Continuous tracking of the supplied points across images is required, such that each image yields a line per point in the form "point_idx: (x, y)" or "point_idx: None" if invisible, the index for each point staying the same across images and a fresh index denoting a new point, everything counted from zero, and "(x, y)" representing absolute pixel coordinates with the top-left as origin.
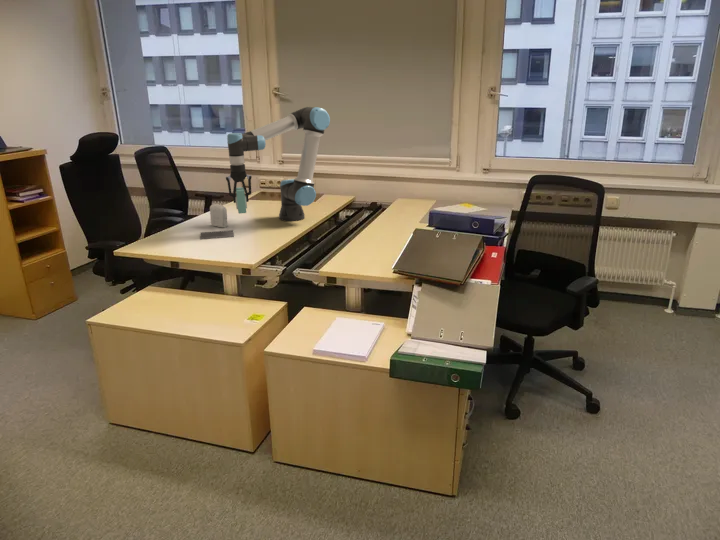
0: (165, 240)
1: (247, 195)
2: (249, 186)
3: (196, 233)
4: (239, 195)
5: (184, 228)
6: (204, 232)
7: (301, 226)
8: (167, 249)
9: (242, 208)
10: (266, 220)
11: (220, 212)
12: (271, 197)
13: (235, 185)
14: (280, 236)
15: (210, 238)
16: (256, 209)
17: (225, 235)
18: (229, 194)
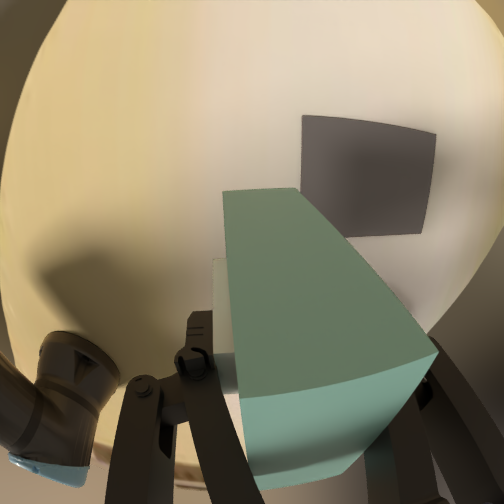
0: (499, 170)
1: (186, 355)
2: (133, 494)
3: (431, 229)
4: (341, 292)
5: (437, 298)
6: (411, 229)
7: (16, 256)
8: (495, 66)
9: (262, 203)
10: (157, 361)
11: None
12: (188, 471)
13: (414, 485)
14: (65, 94)
15: (403, 127)
16: None
17: (342, 148)
18: (438, 346)
